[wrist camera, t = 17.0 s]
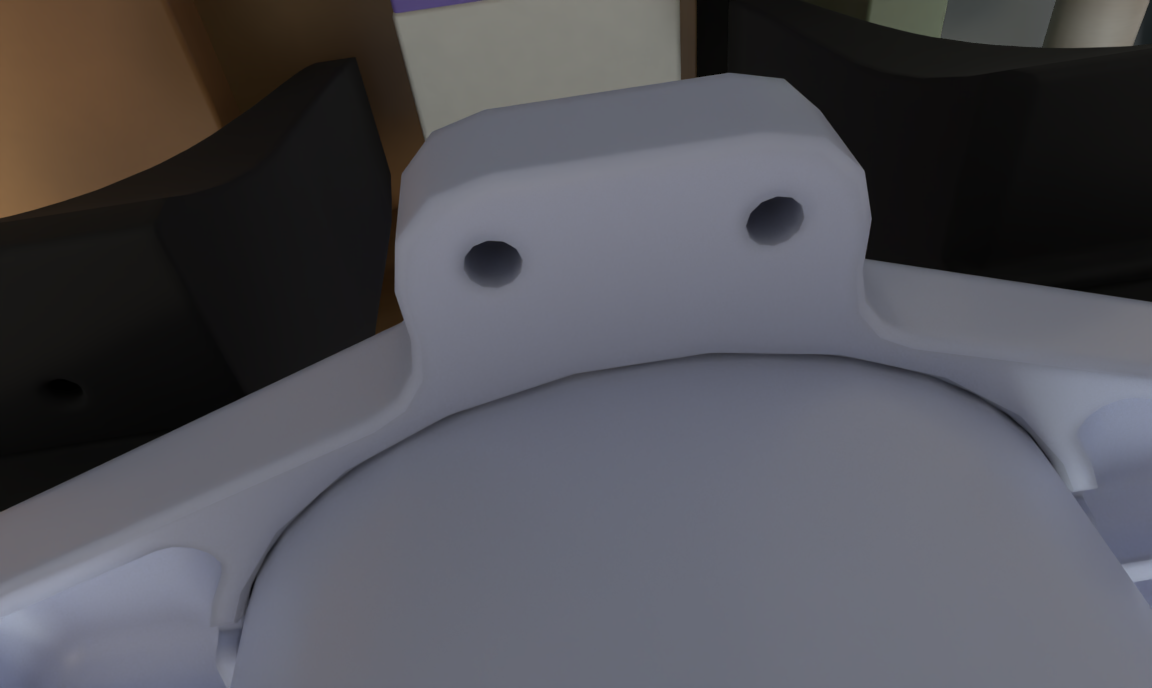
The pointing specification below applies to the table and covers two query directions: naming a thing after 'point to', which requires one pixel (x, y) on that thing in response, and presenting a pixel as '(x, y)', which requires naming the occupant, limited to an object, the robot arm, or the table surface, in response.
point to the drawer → (366, 31)
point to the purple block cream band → (530, 51)
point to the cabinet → (101, 94)
